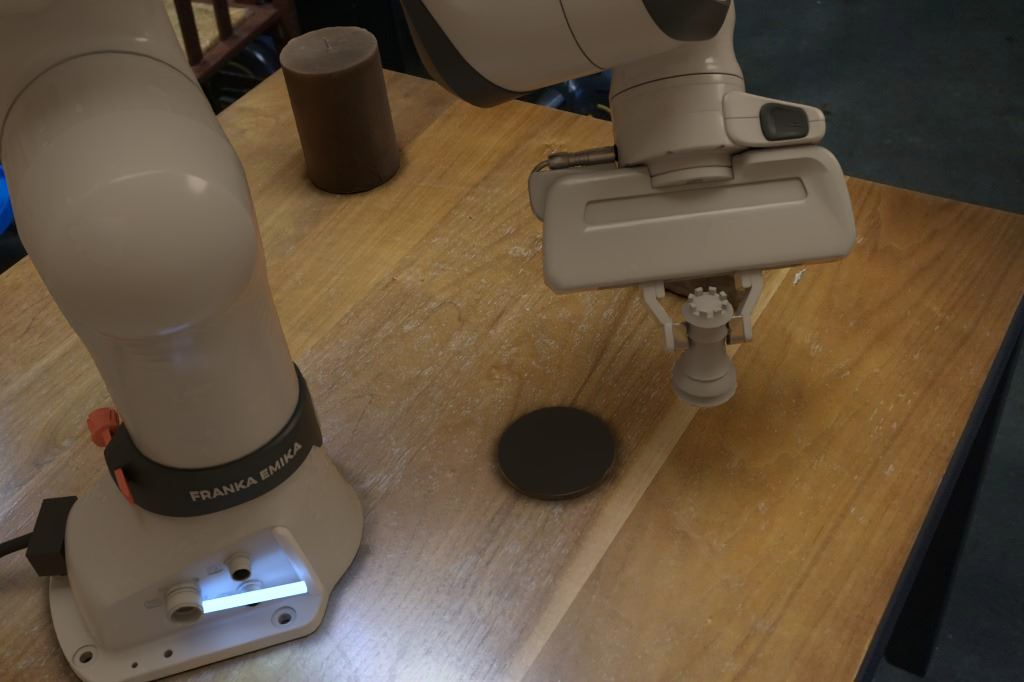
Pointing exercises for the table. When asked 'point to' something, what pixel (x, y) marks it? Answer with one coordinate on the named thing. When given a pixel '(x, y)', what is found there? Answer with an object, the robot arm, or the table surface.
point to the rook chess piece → (705, 352)
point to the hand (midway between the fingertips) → (708, 347)
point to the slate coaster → (556, 453)
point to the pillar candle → (341, 108)
